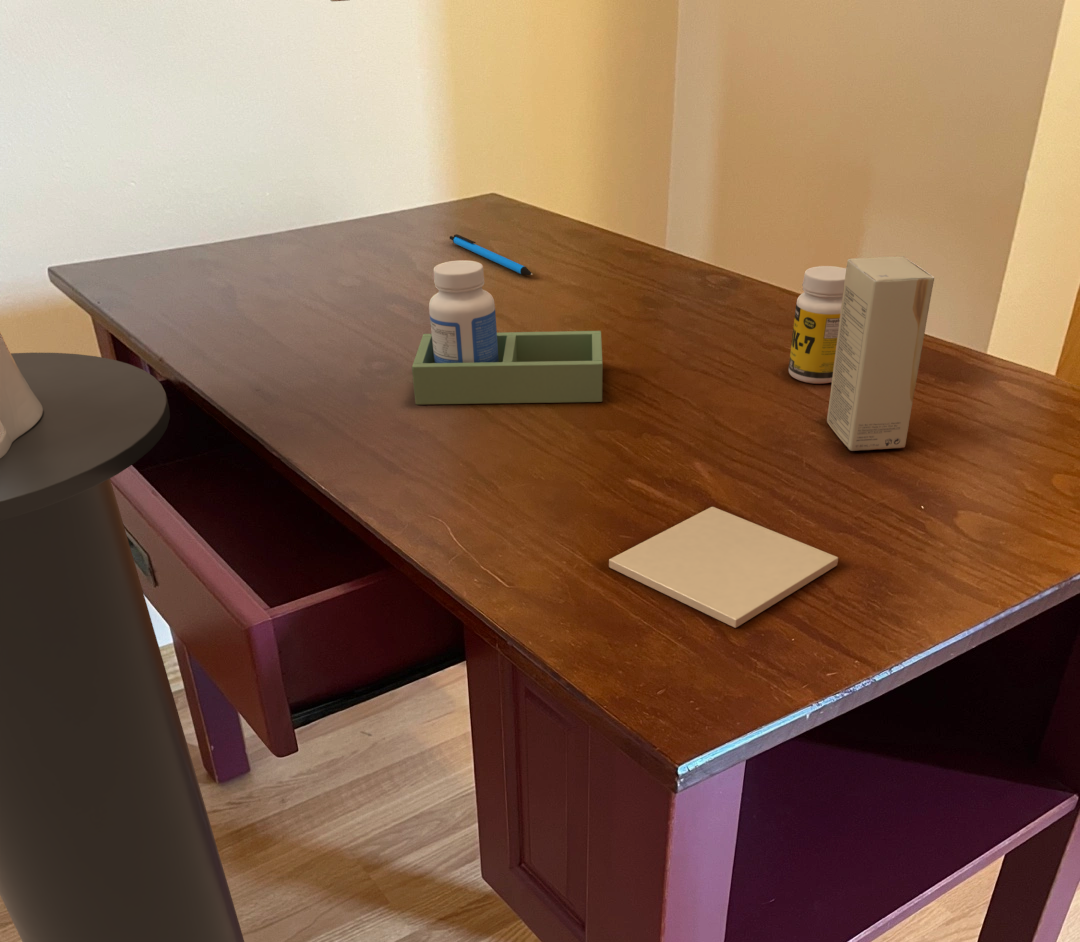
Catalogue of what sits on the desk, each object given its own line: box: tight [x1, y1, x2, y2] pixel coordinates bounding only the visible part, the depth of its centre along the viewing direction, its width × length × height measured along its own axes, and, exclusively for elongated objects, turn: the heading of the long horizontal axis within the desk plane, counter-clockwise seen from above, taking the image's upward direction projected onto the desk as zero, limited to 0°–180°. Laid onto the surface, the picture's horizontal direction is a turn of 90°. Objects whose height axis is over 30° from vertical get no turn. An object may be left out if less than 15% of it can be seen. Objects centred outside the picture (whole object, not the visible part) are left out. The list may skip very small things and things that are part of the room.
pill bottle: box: [428, 259, 499, 363], centre depth 90 cm, size 6×5×10 cm
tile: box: [608, 506, 839, 629], centre depth 67 cm, size 10×10×1 cm
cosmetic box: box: [826, 255, 935, 452], centre depth 79 cm, size 6×4×12 cm
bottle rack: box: [411, 330, 604, 406], centre depth 91 cm, size 8×15×3 cm, turn 88°
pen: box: [449, 233, 533, 276], centre depth 123 cm, size 1×19×1 cm, turn 31°
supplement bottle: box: [788, 265, 846, 385], centre depth 90 cm, size 5×5×8 cm
